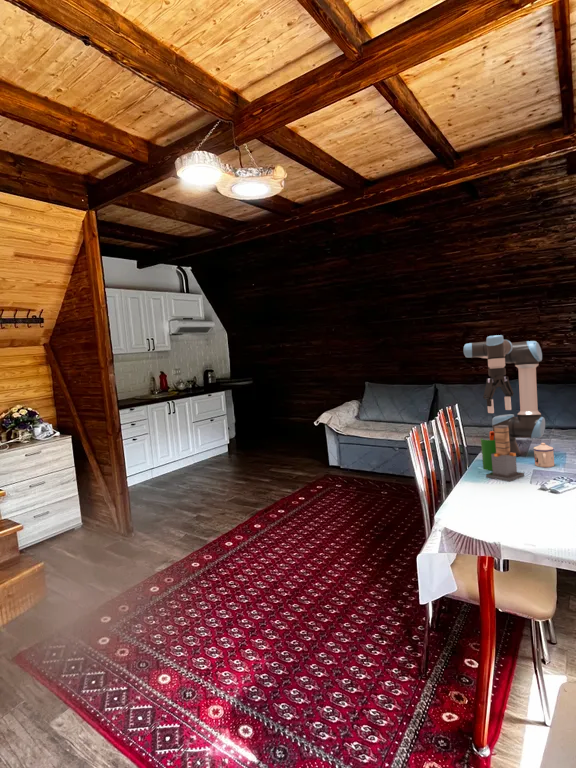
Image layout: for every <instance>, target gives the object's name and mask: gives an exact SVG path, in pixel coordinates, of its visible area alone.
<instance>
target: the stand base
mask: <svg viewBox="0 0 576 768" xmlns="http://www.w3.org/2000/svg"><path fill="white" fill-rule="evenodd" d="M491 457H492V470H493V471H490V472H489V473H486V474H485V478H487V479H492V480H493V479H494V480H499V481H504V482H508V483H509V482H513V481H515V480H517V479H520V478H524V477H525V473H524V472H519V471H518V469H517V468H518V467H517V466H518V465H517V456H516V453H513V452H510V454H507V455H501V454H500V453H492V454H491Z"/></svg>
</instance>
